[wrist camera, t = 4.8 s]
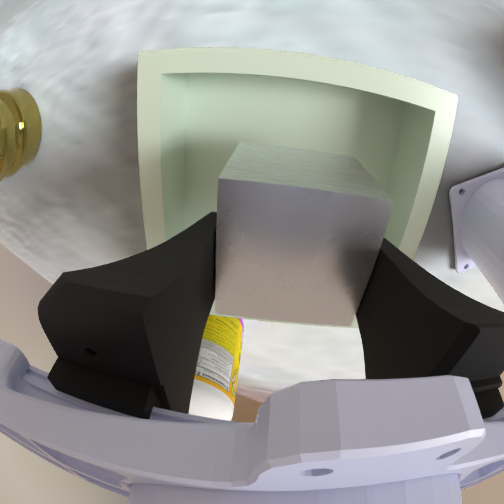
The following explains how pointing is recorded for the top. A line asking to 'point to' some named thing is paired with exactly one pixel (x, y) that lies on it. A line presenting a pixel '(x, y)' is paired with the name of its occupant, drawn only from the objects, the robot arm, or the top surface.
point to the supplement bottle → (217, 368)
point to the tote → (283, 130)
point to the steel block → (296, 234)
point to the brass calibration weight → (18, 130)
